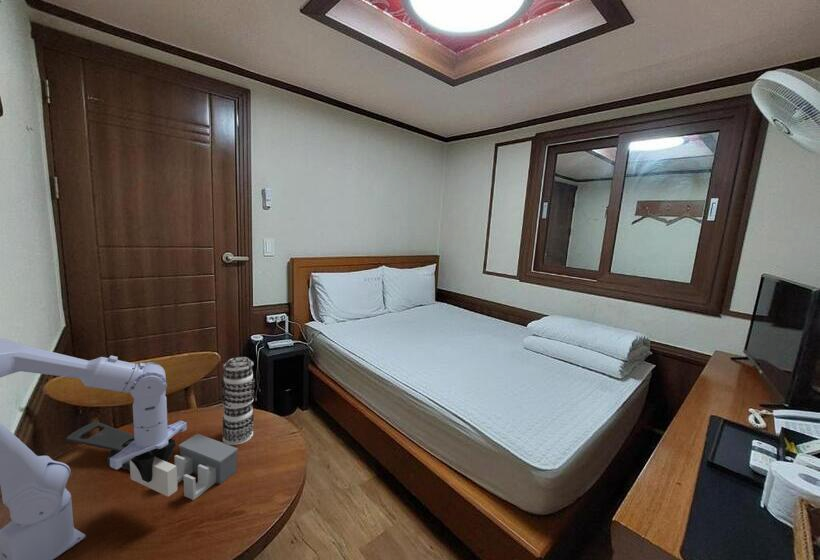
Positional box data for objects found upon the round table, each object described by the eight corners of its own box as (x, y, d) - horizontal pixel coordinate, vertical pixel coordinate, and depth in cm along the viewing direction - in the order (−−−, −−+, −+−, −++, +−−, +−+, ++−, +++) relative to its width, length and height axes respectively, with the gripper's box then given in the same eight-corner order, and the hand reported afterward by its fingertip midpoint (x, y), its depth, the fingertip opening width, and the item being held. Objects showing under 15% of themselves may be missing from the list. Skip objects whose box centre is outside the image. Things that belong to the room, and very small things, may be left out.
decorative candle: (213, 443, 97) (213, 364, 93) (234, 425, 106) (234, 352, 103) (242, 448, 96) (243, 368, 92) (260, 429, 105) (261, 356, 102)
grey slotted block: (198, 502, 77) (198, 477, 76) (155, 483, 82) (154, 459, 81) (237, 470, 88) (237, 448, 87) (197, 454, 92) (197, 433, 91)
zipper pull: (95, 419, 94) (178, 430, 92) (97, 440, 95) (178, 451, 93) (60, 438, 85) (150, 451, 83) (62, 461, 86) (151, 474, 84)
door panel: (177, 490, 73) (176, 465, 72) (168, 496, 71) (167, 472, 70) (140, 473, 76) (139, 449, 75) (130, 479, 74) (129, 455, 74)
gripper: (124, 445, 63) (128, 507, 65) (195, 408, 77) (196, 460, 79) (101, 435, 65) (105, 495, 67) (174, 401, 79) (175, 452, 81)
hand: (153, 476), depth 73 cm, fingers closed on door panel, 2 cm apart
